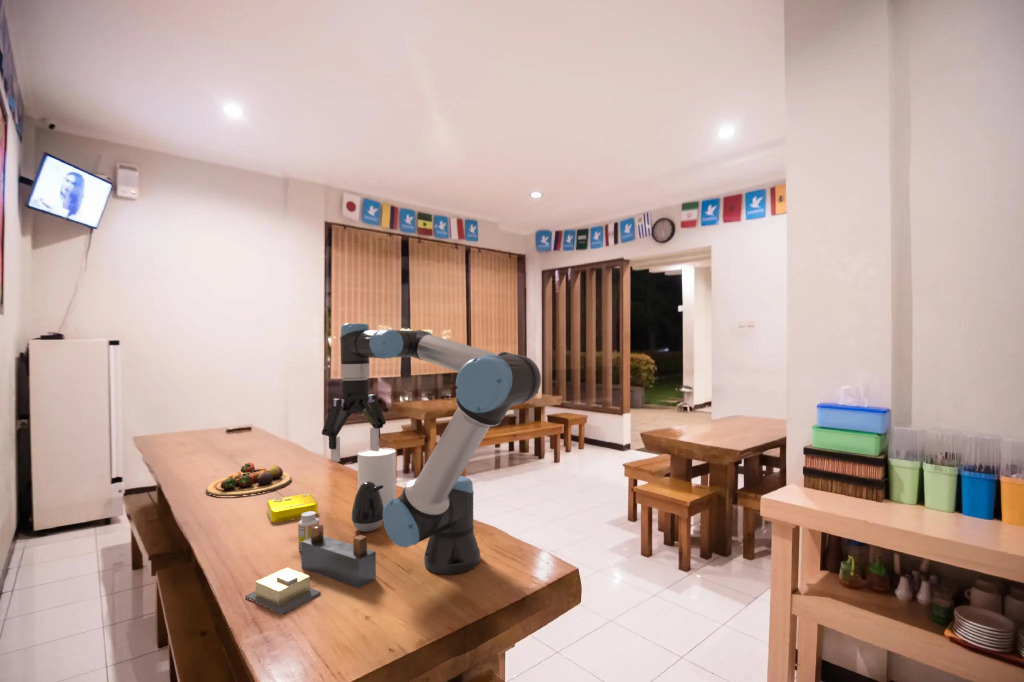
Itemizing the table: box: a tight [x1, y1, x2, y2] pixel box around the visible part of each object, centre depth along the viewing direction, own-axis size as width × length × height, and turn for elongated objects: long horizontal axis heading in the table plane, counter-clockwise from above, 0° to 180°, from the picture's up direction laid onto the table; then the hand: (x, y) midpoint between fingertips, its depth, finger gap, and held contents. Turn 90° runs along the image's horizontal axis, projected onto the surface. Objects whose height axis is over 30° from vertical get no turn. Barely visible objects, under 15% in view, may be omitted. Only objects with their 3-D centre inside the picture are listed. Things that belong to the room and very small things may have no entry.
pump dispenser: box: [351, 482, 384, 533], centre depth 153 cm, size 10×10×15 cm
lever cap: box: [255, 567, 311, 607], centre depth 112 cm, size 9×8×4 cm
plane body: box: [301, 524, 377, 589], centre depth 123 cm, size 22×6×11 cm, turn 59°
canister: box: [357, 447, 397, 507], centre depth 174 cm, size 14×14×20 cm
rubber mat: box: [244, 587, 322, 616], centre depth 112 cm, size 14×10×1 cm
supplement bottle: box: [297, 511, 320, 552], centre depth 138 cm, size 6×6×10 cm
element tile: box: [266, 493, 319, 524], centre depth 168 cm, size 15×15×5 cm
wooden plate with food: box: [205, 462, 292, 496], centre depth 202 cm, size 32×32×8 cm
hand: (355, 455), depth 131 cm, fingers open, 13 cm apart
